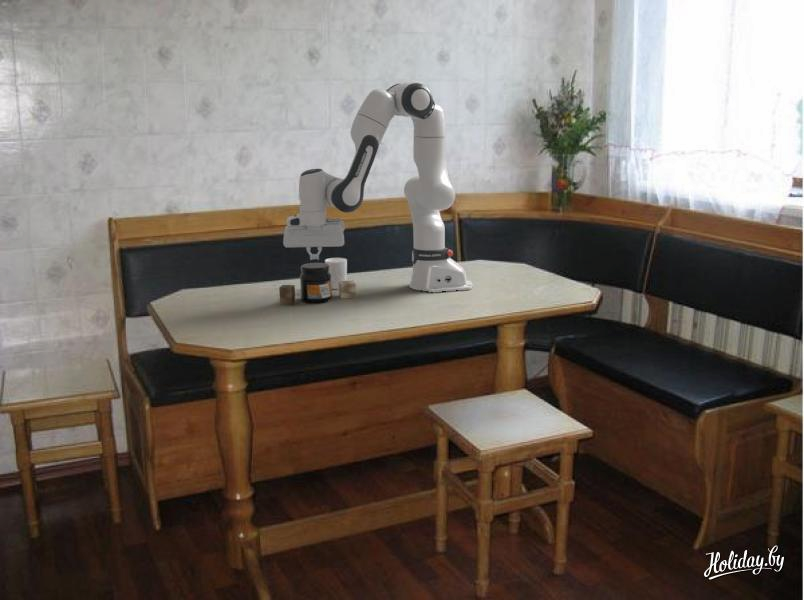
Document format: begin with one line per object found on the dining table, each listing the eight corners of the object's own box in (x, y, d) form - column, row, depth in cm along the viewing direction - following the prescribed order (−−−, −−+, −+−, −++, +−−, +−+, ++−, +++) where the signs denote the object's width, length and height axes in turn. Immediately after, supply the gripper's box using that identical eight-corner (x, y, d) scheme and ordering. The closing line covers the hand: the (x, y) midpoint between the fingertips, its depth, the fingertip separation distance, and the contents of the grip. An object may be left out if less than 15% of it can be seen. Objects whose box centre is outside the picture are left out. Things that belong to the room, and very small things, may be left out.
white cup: (349, 284, 310) (348, 257, 307) (345, 290, 302) (345, 262, 300) (327, 284, 310) (327, 257, 308) (323, 289, 303) (322, 262, 300)
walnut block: (295, 302, 286) (294, 285, 284) (291, 305, 282) (290, 287, 280) (283, 302, 286) (283, 284, 285) (280, 305, 283) (279, 287, 281)
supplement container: (330, 304, 283) (329, 268, 280) (298, 304, 283) (297, 269, 280) (333, 296, 293) (332, 262, 290) (303, 296, 294) (301, 262, 291)
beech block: (353, 294, 296) (352, 280, 295) (356, 297, 291) (355, 283, 290) (338, 295, 295) (338, 281, 294) (341, 298, 290) (341, 284, 289)
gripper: (344, 216, 285) (345, 257, 289) (283, 217, 284) (284, 258, 287) (344, 219, 279) (345, 261, 283) (282, 220, 278) (283, 262, 281)
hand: (314, 259), depth 285 cm, fingers closed
